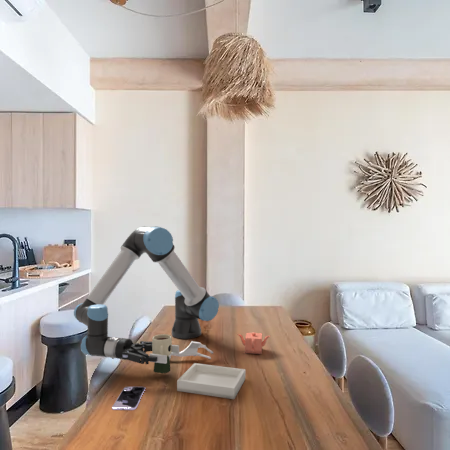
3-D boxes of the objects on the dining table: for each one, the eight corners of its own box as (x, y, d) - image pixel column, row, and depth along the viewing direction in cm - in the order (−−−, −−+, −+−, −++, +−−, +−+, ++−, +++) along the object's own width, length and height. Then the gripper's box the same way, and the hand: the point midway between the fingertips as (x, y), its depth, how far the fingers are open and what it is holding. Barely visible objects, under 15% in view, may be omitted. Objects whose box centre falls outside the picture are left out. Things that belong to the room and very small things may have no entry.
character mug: (171, 377, 129) (171, 341, 129) (151, 378, 128) (151, 342, 128) (171, 365, 140) (171, 332, 140) (153, 366, 139) (153, 332, 139)
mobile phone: (110, 407, 110) (124, 385, 125) (110, 411, 110) (124, 388, 125) (135, 407, 110) (146, 385, 125) (135, 411, 110) (146, 388, 125)
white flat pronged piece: (204, 372, 152) (164, 358, 150) (214, 347, 153) (175, 332, 151) (204, 374, 151) (164, 360, 148) (215, 349, 151) (175, 334, 149)
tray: (194, 372, 138) (194, 363, 138) (245, 378, 132) (245, 369, 132) (177, 390, 122) (177, 380, 122) (234, 399, 117) (234, 388, 117)
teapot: (270, 357, 154) (270, 337, 154) (235, 355, 156) (235, 336, 156) (270, 347, 166) (271, 329, 166) (238, 346, 168) (238, 328, 168)
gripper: (134, 348, 150) (184, 353, 143) (101, 369, 128) (158, 377, 122) (134, 330, 150) (184, 334, 143) (101, 348, 128) (158, 354, 122)
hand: (172, 354), depth 133 cm, fingers closed on character mug, 10 cm apart
